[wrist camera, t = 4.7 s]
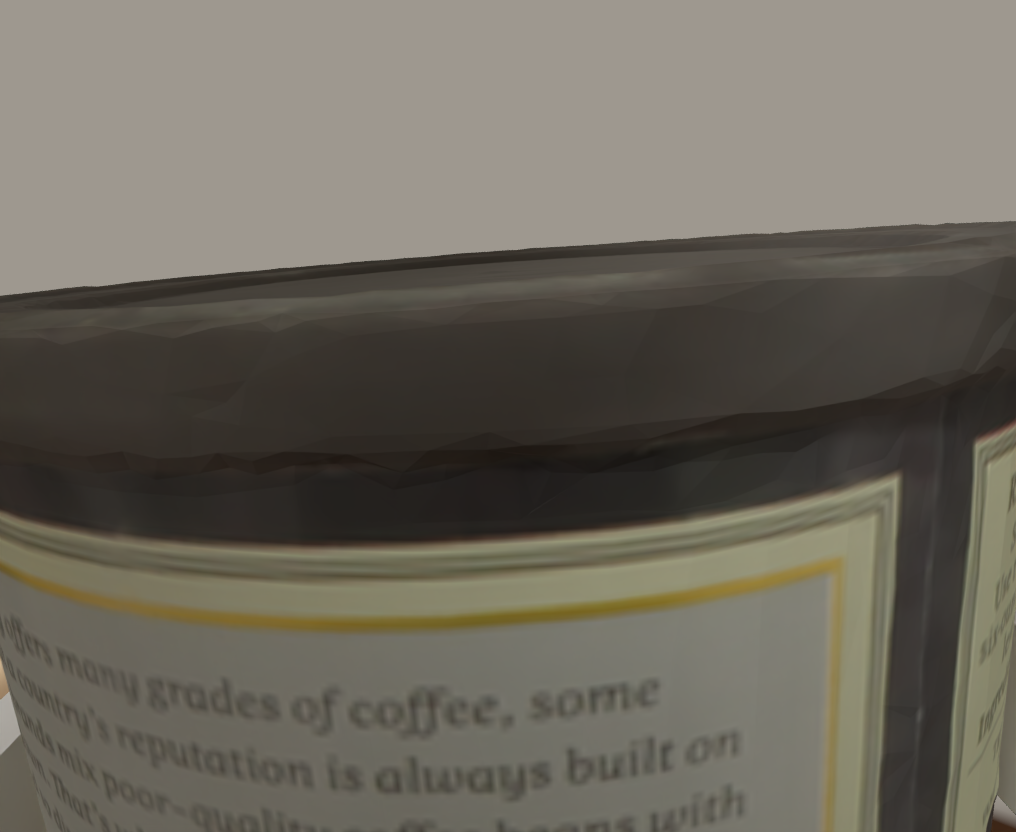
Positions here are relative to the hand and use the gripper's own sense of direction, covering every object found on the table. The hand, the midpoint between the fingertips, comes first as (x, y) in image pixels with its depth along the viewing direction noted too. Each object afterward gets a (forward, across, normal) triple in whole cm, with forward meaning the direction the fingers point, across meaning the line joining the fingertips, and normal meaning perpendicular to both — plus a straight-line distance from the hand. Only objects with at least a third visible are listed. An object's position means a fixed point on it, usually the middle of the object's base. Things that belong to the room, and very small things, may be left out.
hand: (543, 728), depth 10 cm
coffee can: (-1, 0, -8) cm, 8 cm away
